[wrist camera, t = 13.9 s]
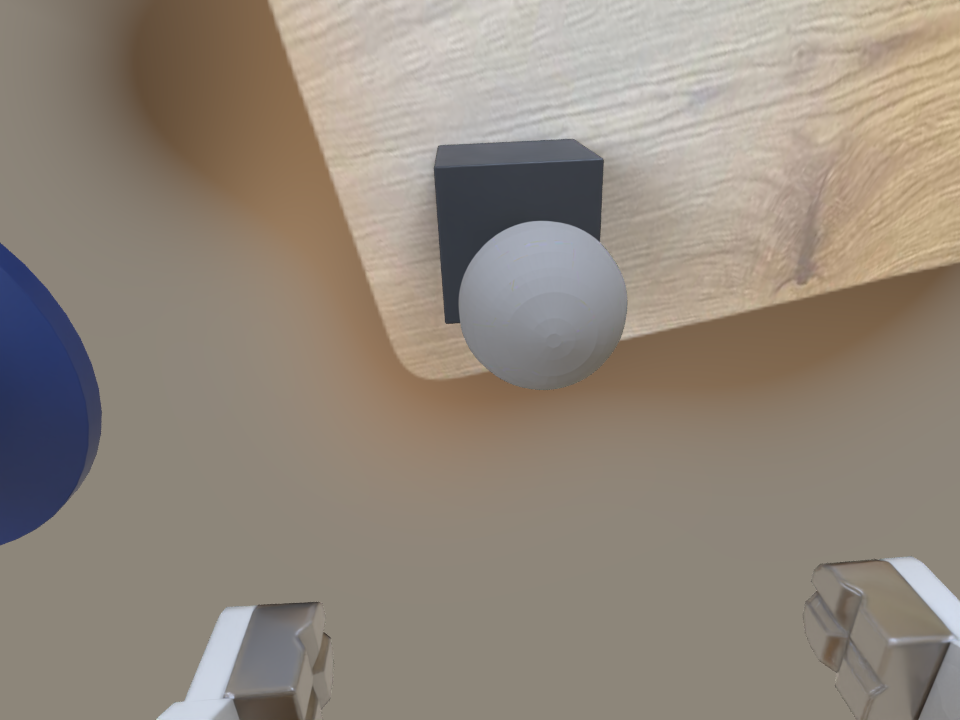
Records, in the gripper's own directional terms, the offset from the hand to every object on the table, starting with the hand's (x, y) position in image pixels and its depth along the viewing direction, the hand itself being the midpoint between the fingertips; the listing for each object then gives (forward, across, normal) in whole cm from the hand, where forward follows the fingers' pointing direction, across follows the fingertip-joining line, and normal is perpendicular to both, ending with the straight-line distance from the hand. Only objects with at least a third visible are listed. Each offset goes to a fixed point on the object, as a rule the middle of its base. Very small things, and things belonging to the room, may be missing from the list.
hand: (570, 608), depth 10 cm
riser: (+26, -1, -1) cm, 26 cm away
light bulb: (+19, -1, -1) cm, 19 cm away
